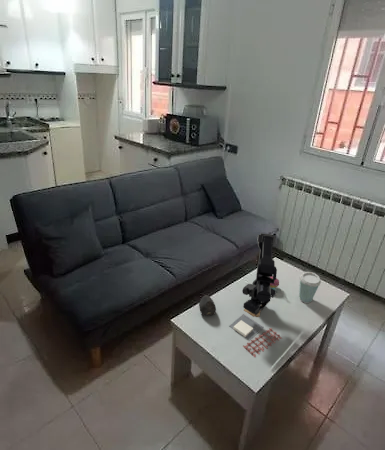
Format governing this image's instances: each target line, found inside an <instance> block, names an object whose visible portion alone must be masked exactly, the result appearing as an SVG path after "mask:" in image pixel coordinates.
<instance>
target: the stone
mask: <svg viewBox="0 0 385 450" xmlns="http://www.w3.org/2000/svg"><path fill="white" fill-rule="evenodd" d="M198 302H199V304H198V308H199V312H200V313H201V315H202V316H213V315H215V314H216V311H217V308H216V304H215V302H214V300H213V298H212V297H210V295H208V294H206V295H203V296H202V297H201V298H200V301H198Z"/></svg>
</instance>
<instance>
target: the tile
mask: <svg viewBox="0 0 385 450" xmlns="http://www.w3.org/2000/svg"><path fill="white" fill-rule="evenodd" d="M233 329H234V331H235V330H236V331H237V332H236V331H235V332H236V333H238V332H239V333H240V334H242V335H243V336H244V337H243V336H242V335H241V336H242V337H243V338H245V337H246V336H247V335H248V334H249V333H251V332H252V331H253V328H252V327H251V326H249V325H248V324H246V323H245V322H243V321H242V320H241V321H239V322H238V323H237V324H236V325H235V326H234V327H233ZM233 329H232V330H233ZM239 333H238V334H239ZM240 334H239V335H240Z"/></svg>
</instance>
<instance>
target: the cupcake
mask: <svg viewBox="0 0 385 450" xmlns="http://www.w3.org/2000/svg"><path fill="white" fill-rule="evenodd" d="M270 278H272V279H273V276H272V277H270ZM279 286H280V280H279V278H277V277H276V280H275V281H274V284H272V283H270V287H271V288H272V289H274V290H275V291H276V288H278V287H279Z"/></svg>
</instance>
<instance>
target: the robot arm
mask: <svg viewBox="0 0 385 450" xmlns="http://www.w3.org/2000/svg"><path fill="white" fill-rule="evenodd" d="M276 238H277V237H275V236H273V234H271V233H263V232H260V234H257V239H256V242H257V246H258V248H259V256H258V261H257V267H256V276H255V279H254V280H253V282H252V283H248V284H245V286H243V288H242V294H243V295H246V296H248V297H249V298H250V299H247V300H246V301H245V302H244V303H243V306H242V307H243V309H246V310H248V311H249V312H251V313H253V314H255V315H257V314H258V313H259V312H260V310H261V311H263V310H264V308H266V306H267V305H268V304H269V303H270V302H271V298H273V299H274V298H275V297H276V296H277V291H276V289H275V290H274V289H272V288H271V287H270V283H272V284H274V281H275V280H276V278H277V272H278V269H277V267H276V266H275V265H276V264H275V263H276V262H275V260H274V259H273V257H272V256H273V246H274V245H275V244H276ZM272 276H273V279H272V278H270V277H272ZM261 305H262V306H261ZM260 313H261V312H260Z"/></svg>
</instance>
